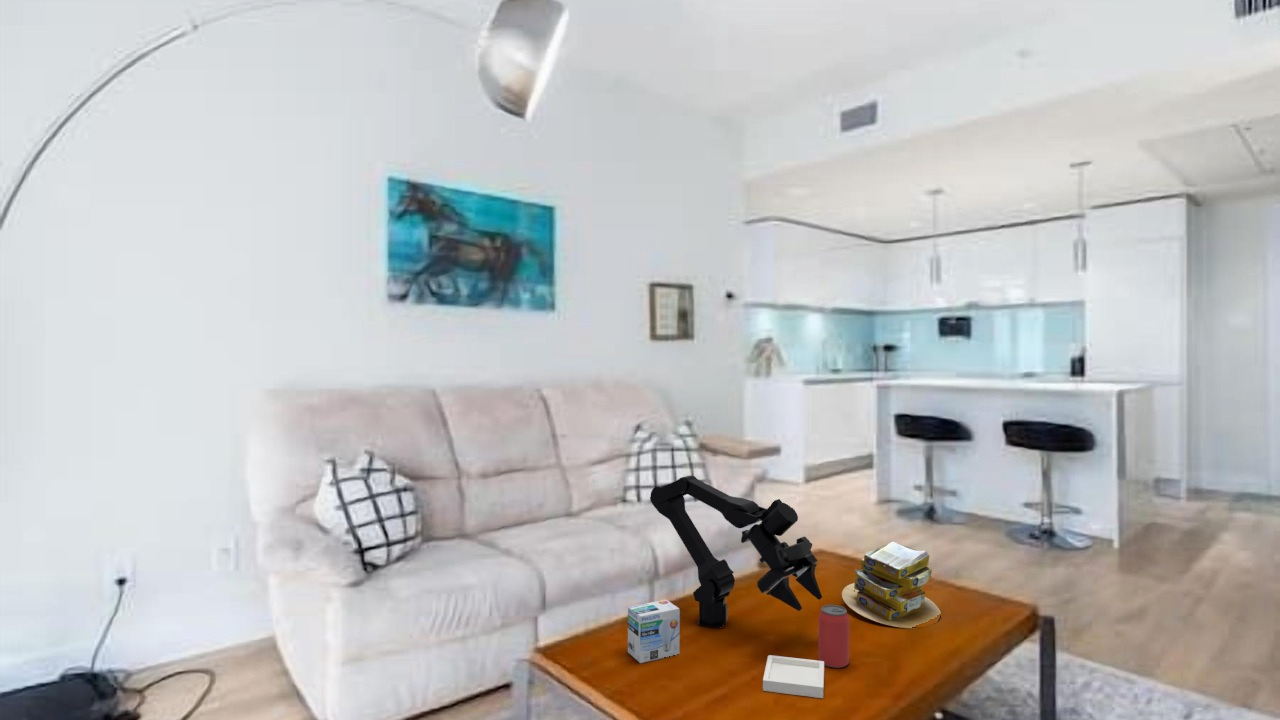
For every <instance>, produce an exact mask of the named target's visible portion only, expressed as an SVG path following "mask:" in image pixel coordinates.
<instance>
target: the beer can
mask: <svg viewBox="0 0 1280 720" xmlns="http://www.w3.org/2000/svg"><path fill="white" fill-rule="evenodd" d="M847 612H848V611H847V609H846V608H845V607H844V606H841V605H836V604H826V605H823V606H822V607H821V608H820V612H819V615H818V661H824V666H825V667H829V668H834V669H841V668H844V667H846V666H848V665H849V663H850V618H849V615H848V613H847Z"/></svg>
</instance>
